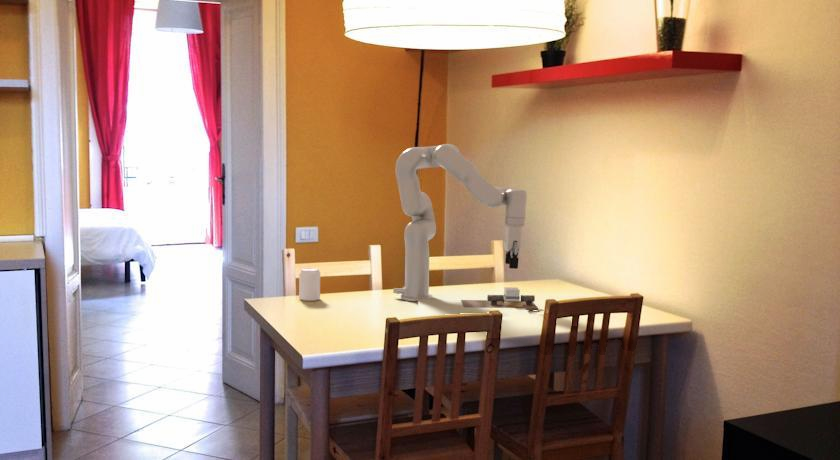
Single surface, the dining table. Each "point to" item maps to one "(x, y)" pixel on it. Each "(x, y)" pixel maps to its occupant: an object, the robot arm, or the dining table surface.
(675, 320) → the dining table surface
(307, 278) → the beverage can
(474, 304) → the rig
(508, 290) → the coupler
